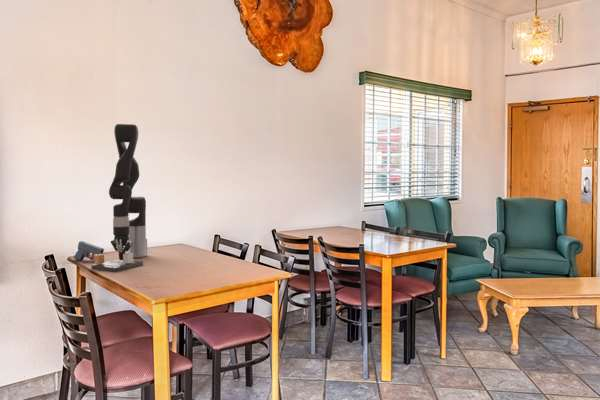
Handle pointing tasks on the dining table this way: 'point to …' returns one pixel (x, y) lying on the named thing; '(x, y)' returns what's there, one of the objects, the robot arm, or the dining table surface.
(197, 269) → the dining table surface
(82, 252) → the toy
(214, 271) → the dining table surface
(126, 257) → the fader white
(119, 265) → the console
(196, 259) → the dining table surface
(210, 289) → the dining table surface
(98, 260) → the fader orange
